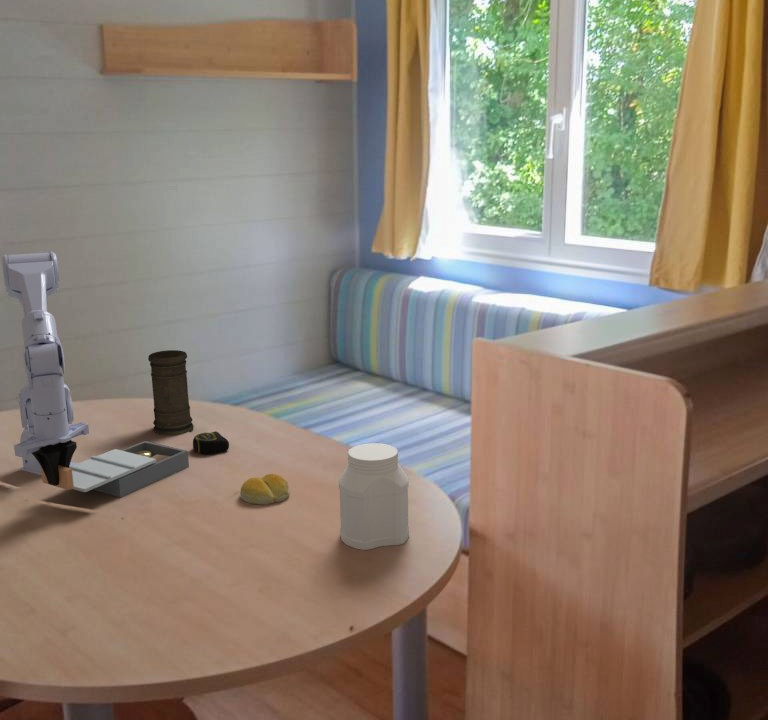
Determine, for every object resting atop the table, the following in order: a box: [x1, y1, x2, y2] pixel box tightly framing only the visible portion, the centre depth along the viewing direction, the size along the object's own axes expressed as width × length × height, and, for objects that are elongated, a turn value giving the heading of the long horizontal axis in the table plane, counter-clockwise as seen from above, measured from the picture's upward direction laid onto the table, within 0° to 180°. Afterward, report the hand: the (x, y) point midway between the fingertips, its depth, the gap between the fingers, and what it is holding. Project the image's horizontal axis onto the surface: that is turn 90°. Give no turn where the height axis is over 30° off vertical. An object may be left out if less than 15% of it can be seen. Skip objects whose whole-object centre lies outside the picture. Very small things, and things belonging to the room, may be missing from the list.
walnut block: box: [146, 454, 170, 467], centre depth 186 cm, size 4×4×2 cm
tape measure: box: [192, 431, 230, 456], centre depth 198 cm, size 7×7×4 cm
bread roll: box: [239, 473, 291, 505], centre depth 174 cm, size 8×9×4 cm
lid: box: [41, 448, 156, 493], centre depth 175 cm, size 11×19×4 cm, turn 148°
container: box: [147, 349, 195, 436], centre depth 210 cm, size 9×9×18 cm
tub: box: [92, 440, 190, 498], centre depth 184 cm, size 12×18×4 cm, turn 148°
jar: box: [338, 442, 410, 551], centre depth 155 cm, size 12×10×15 cm
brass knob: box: [135, 451, 152, 468], centre depth 189 cm, size 3×3×3 cm
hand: (57, 482), depth 168 cm, fingers closed on lid
